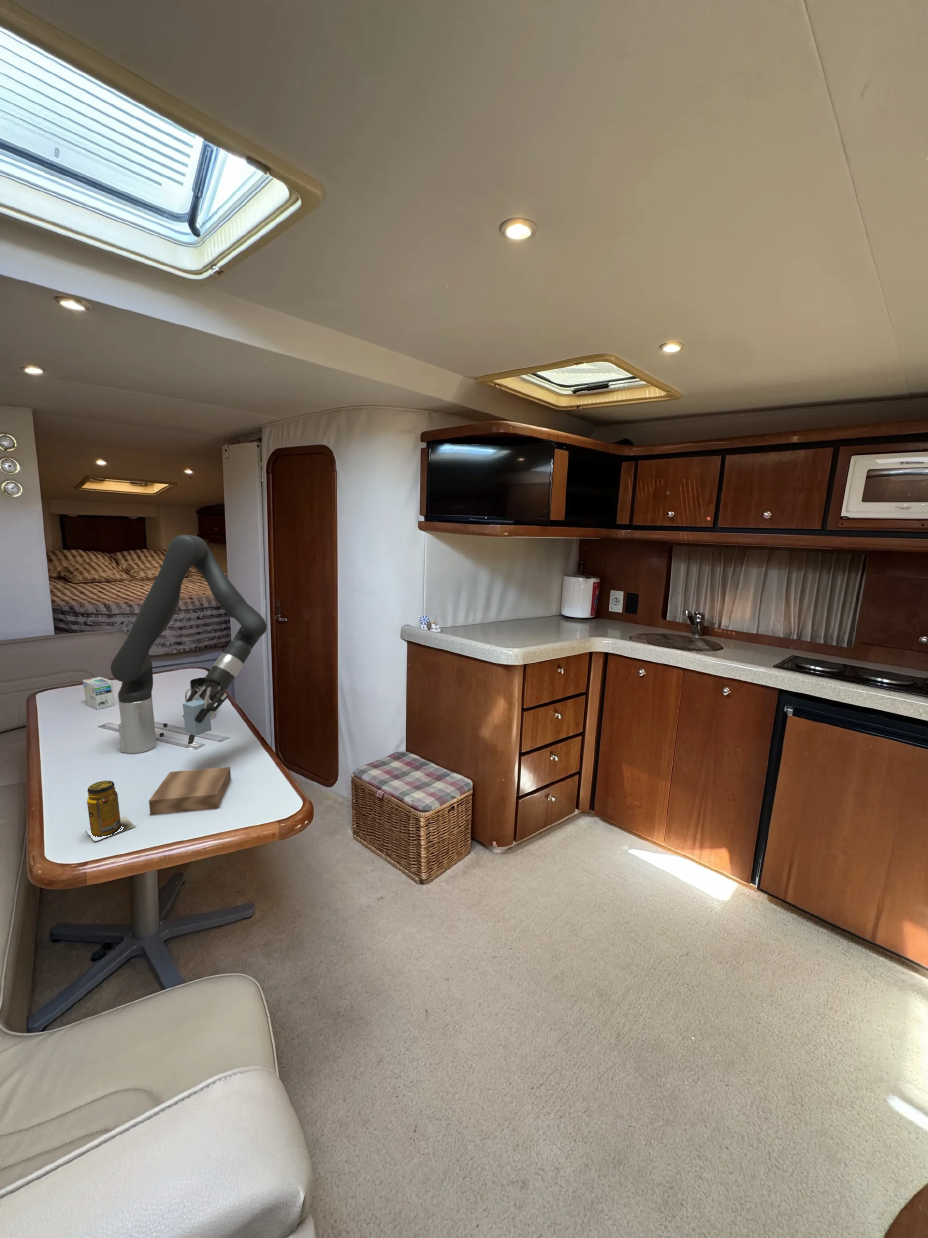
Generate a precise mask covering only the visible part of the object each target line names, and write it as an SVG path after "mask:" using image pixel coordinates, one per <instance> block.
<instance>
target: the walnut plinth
mask: <svg viewBox="0 0 928 1238" xmlns="http://www.w3.org/2000/svg"><path fill="white" fill-rule="evenodd" d="M231 773H232V772H231V766H225V767H214V768H201V769H188V770H178V771H169V773H167V775H166V776H165V778H164V780H162V782H161V783H160V785H159V786H158V788H157V789H156V790H155V791H154V793H153V794H152V795H151V797H150V798H149V800H148V806H149V815H150V816H153V815H164V814H174V813H175V814H176V813H185V812H194V811H195V812H196V811H205V810H214V809H215V810H217V809H219V806H220V805H221V803H222V800H223V798H224V796H225V793H226V791H227V789H228V787H229V785H230V783H231V780H232V774H231Z"/></svg>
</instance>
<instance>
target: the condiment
mask: <svg viewBox="0 0 928 1238" xmlns="http://www.w3.org/2000/svg"><path fill="white" fill-rule="evenodd" d="M87 796H88V797H87V799H86V805H87V811H88V818H89V820H88V821H89V826H90V829H91V833H92V835H93V836H95V837H96V836H97V837H102V836H108V835H111V834H112V835H113V834H114V833H115V832H117V831H118V830H119V829H120V828H121V826H122V827H124V828H123V830H122V831H120V832H117V833H115V834H114V835H113V836H115V835H118V834H119V833H123V832H126V831H128V830H130V829H132V828H135V827H136V825H135V824H133V822H132V821H130V819H129V818H128V817H127V816H126V815H125V816H123V817H121V813H120V804H119V794H118V792H117V790H116V787H115V782H114V781H112V780H100V781H97V782H95V783H92V784H91V785H90V786H89V785H88V788H87ZM90 829H89V830H90ZM121 829H122V828H121ZM121 829H120V830H121Z"/></svg>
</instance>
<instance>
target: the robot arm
mask: <svg viewBox="0 0 928 1238" xmlns="http://www.w3.org/2000/svg"><path fill="white" fill-rule="evenodd" d="M191 567H193V568H194V569H196V571H198V572H199V574H201V576H202V577H203V579H204V580H205V581H206V583H207V585H208V587H209V589H210V592H211V594H212V595H213V597H214V599H215V601H216V602H217V603H218V605H219V606H220V607H221V609H222V610H224V612H225V613H226V614H227V615H228V617H229V618H230V619H231V618H232V619H235V620H236V622H238V623H239V625H240V628H239V629H238V630H237V632H236V633H235V634H234V637H233V638H232V640H231V641H230V642H229V643H228V645H227V646H226V648H225V649H224V651H223V652H222V653H221V654H220V656H219V657H218V658H216V660H215V662H214V664H213V665H212V666H211V668H210V670H209V671H207V674H206V675H205V679H206V682H205V683H204V684H203V685H202V686H197V685H195V686H194V688H193V690H192V691H191V690H190V694H189V695H188V696H187V702H190V701H193V700H199V699H200V698H202V699H201V700H204V702H205V704H204V705H203V709H201V710H200V712H199V713H198V715H197V716H196V718H195V721H196V722H198V723H202V721H203V720H204V718H205V717H206V716H207V714H208V713H210V712H211V711H213V712H215V713H216V712H217V711H218V709H219V708H220V707H221V706H222V705H223V703H224V702H226V700H227V699H228V698H229V695H228V694H227V693H226V692H225V691H227V690H228V689H229V688H230V686H231V685H232V683H233V682H234V680H235V679H236V677H237V676H238V674H239V673H240V671H241V669H242V667H243V666H244V664H245V662H246V661H247V660H248V658H249V656H250V655H251V652H252V650H253V648H254V646H256V644H257V643H258V641H259V640H260V639H261V637H262V636H263V635H264V634H265V633H266V632H267V629H268V626H267V621H266V620H265V619H264V617H263V616H262V615H261V614H260V613H259V612H258V611H257V610H255V609H254V607H253V606H251V605H250V604H249V603H248V602H247V601H246V599H245V598H244V597H243V596H242V595H241V593H240V592H239V591H238V589H237V588H236V587H235V586H234V585H233V583H232V582H231V580H230V579H229V578H228V577H227V575H226V574H225V572H224V571H223V569H222V567H221V566H220V565H219V563H218V562H217V560H216V559H215V557H214V555H213V552H212V551H211V550H210V548H209V546H208V544H207V543H206V541H205V540H204V539H203V538H202V537H199V536H196V535H192V534H191V535H190V534H179V535H177V536H175V537H174V538H173V539H172V540H171V541H170V543H169V544H168V548H167V550H166V552H165V556H164V559H163V561H162V564H161V566H160V570H159V572H158V574H157V575H156V578H155V579H154V581H153V582H152V586H151V587H150V589H149V591H148V593H147V595H146V596H145V598H144V600H143V602H142V604H141V606H140V608H139V612H138V613H137V615H136V616H135V620H134V622H133V624H132V626H131V629H130V631H129V633H128V635H127V637H126V639H125V641H124V642H123V644H122V645H121V647H120V649H119V650H118V652H117V653H116V655H115V656H114V657H113V659H112V661H111V663H110V672H111V676H113V678H114V679H115V680H116V681H117V682H120V683H121V687H120V689H119V691H118V693H117V698H118V707H119V717H120V723H119V724H118V733H119V743H120V752H121V753H125V754H140V753H145V752H148V751H151V750H153V749H154V748H156V747H157V736H156V726H155V713H154V705H153V692H152V690H153V688H154V675H153V674H154V673H153V661H152V658H151V656H150V655H149V652H150V651H151V648H152V646H153V645H155V642H156V641H157V640H158V638H159V637H160V636H161V635H162V634H163V632H165V630H166V629H167V628H168V626H169V625H170V623H171V621H172V619H173V617H174V616H175V614H176V612H177V609H178V607H179V604H180V600H181V592H182V591H181V590H182V584H183V581H184V579H185V577H186V575H187V574H188V572H189V569H190V568H191ZM224 690H225V691H224ZM199 696H200V698H199ZM193 697H194V699H193V700H192V698H193ZM208 704H209V705H208ZM182 718H184V714H183V715H182Z"/></svg>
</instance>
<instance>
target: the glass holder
mask: <svg viewBox="0 0 928 1238" xmlns="http://www.w3.org/2000/svg"><path fill="white" fill-rule="evenodd" d="M205 682H206V679H205V677H204V676H203V677H197V678H192V679H190V681H189V683H190V684H189V686H190V688H188V689H186V691H185V693H184V701H185V702H184V703H187V699H188V693H189V692H191V691H192V690H193V688H194V686H195V685H197V686H202V685H203V684H204V683H205ZM199 698H200V696H199ZM193 699H194V697H193V698H192V700H193ZM200 699H202V698H200ZM216 717H217V714H216V711H215V712H213V711H211V712H210V720H214V719H215V718H216Z"/></svg>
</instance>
